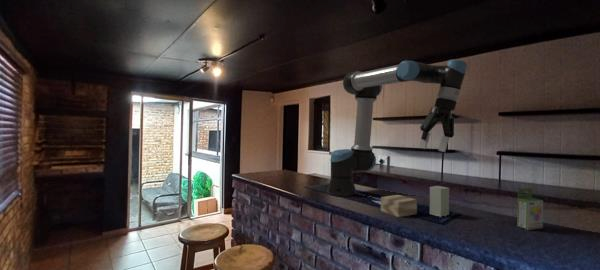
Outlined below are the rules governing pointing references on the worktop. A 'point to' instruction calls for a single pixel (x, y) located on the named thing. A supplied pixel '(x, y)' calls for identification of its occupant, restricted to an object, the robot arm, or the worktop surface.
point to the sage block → (439, 201)
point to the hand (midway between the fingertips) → (432, 149)
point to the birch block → (399, 205)
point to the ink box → (529, 211)
